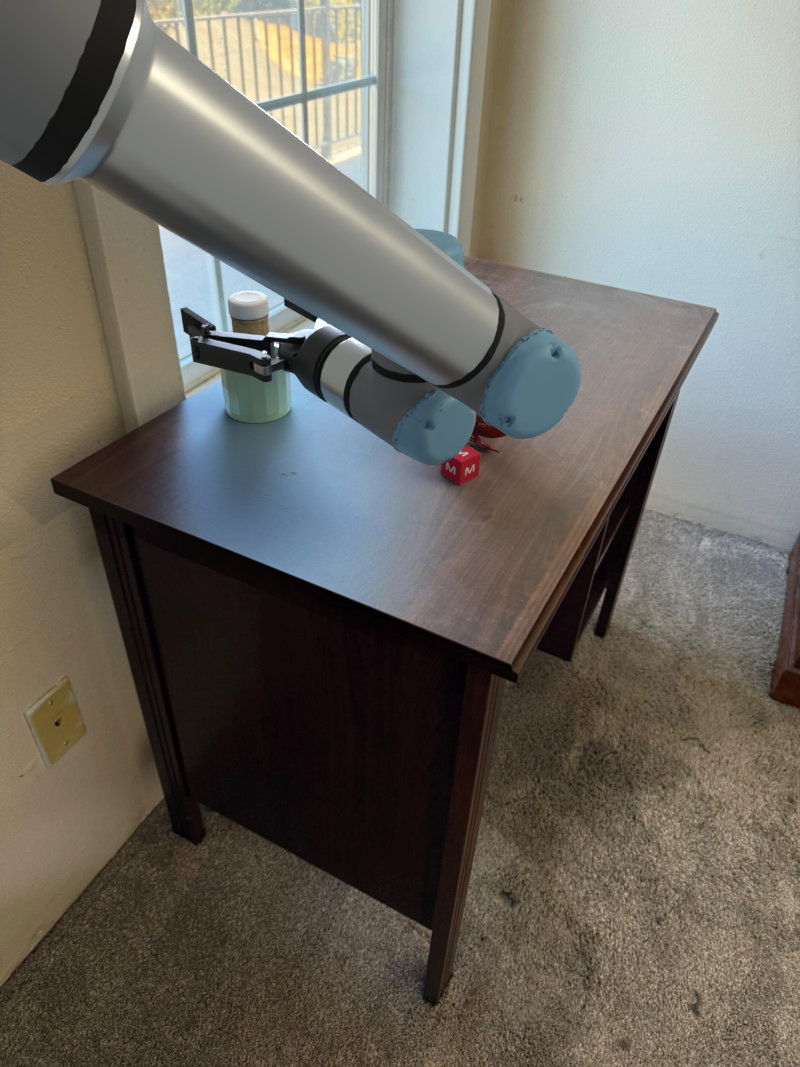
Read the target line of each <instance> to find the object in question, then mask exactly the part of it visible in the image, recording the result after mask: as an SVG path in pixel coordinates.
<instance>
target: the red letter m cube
mask: <svg viewBox="0 0 800 1067" xmlns="http://www.w3.org/2000/svg"><path fill="white" fill-rule="evenodd" d="M481 455H482V453H481V452H479V450H476V449H474V448H472V447H471V446H469V445H467V444H466V445H465V446H464V448H463V449H462V450H461V451H460V452H459V453H458V454H457V455H456V456H455V457H454V458H452V459H451V460H448V461H446V462H444V463H442V464H440V475H442V476H444V477H445V478H446V479H448V480H450V481H452V482H453V483H454V484H456V485H458V486H461V485H463V484H465V483H468V482H469V481H471V480H474V479H475V478H477V477H479V473H480V463H481Z"/></svg>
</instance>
